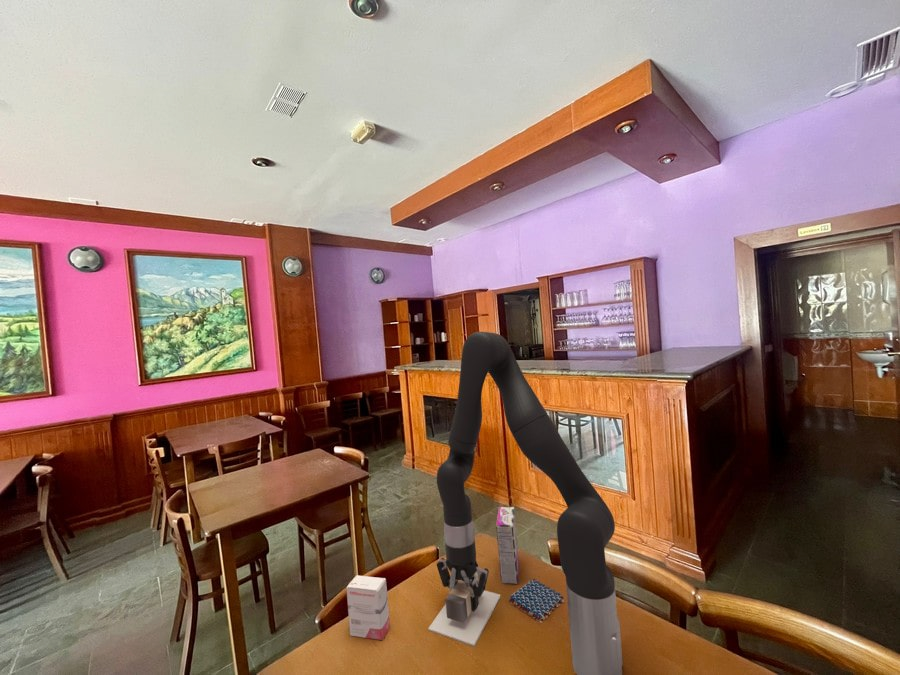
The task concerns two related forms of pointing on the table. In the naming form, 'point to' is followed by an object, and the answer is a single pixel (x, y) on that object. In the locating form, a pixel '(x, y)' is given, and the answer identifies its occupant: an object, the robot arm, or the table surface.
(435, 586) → the table surface
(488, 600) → the white rectangular board
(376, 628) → the ink box
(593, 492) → the robot arm
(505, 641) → the table surface
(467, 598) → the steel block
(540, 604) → the woven mat
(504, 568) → the candy bar box
